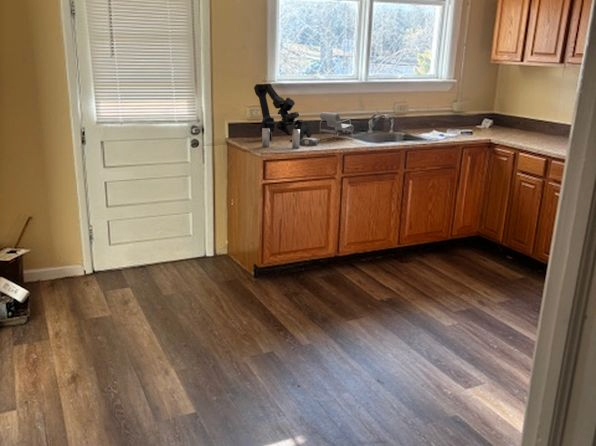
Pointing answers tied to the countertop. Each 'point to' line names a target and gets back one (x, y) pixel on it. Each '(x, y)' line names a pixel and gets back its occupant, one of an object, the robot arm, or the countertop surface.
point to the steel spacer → (296, 138)
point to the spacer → (265, 137)
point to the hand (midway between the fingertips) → (295, 134)
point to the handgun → (305, 131)
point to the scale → (309, 141)
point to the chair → (335, 123)
